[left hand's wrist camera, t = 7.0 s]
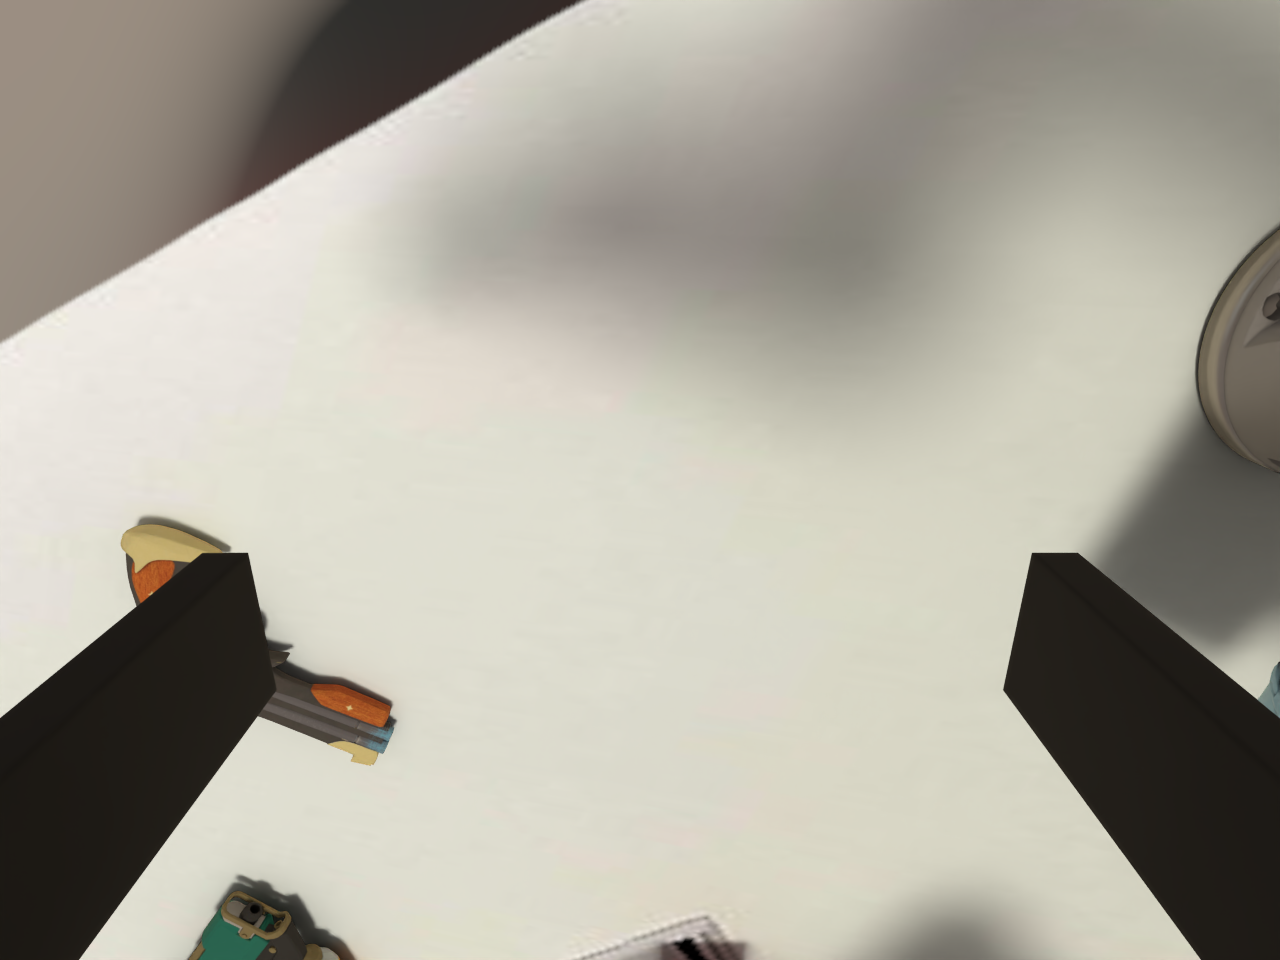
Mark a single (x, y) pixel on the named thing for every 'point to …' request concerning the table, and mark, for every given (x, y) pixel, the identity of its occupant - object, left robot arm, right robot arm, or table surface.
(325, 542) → the table surface
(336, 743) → the toy gun
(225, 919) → the spray gun
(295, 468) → the table surface
